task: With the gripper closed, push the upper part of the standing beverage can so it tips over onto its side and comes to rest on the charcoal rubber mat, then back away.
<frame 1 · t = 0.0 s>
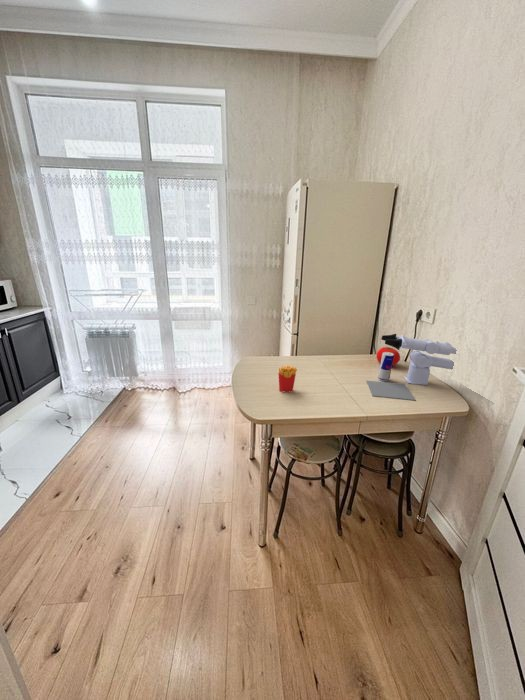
hand: (383, 339, 147), 22 cm above the table, tool horizontal, fingers open, 7 cm apart
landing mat: (389, 390, 140), on the table
french fries: (286, 390, 136), on the table
tomato: (386, 364, 173), on the table
beverage can: (383, 380, 151), on the table
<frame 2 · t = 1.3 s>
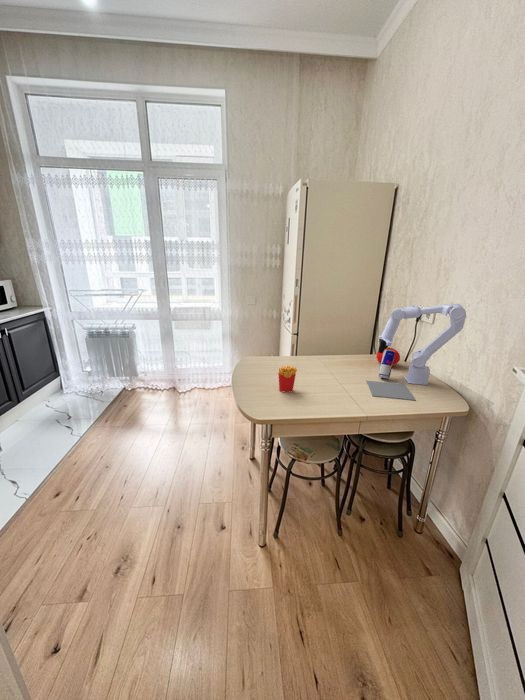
hand: (380, 352, 155), 12 cm above the table, tool pointing down, fingers closed, pressing on beverage can
beverage can: (383, 378, 151), point 1 cm above the table, touching gripper
everything else where it was.
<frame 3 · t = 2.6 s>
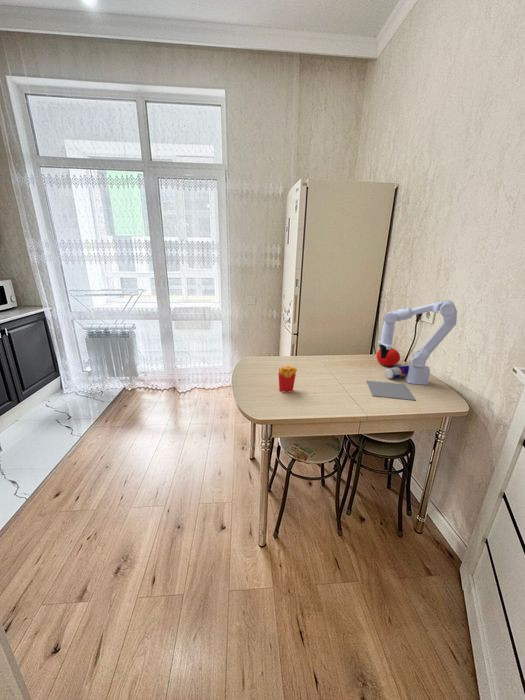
hand: (382, 357, 156), 10 cm above the table, tool pointing down, fingers closed
beverage can: (387, 373, 152), point 3 cm above the table
everything else where it was.
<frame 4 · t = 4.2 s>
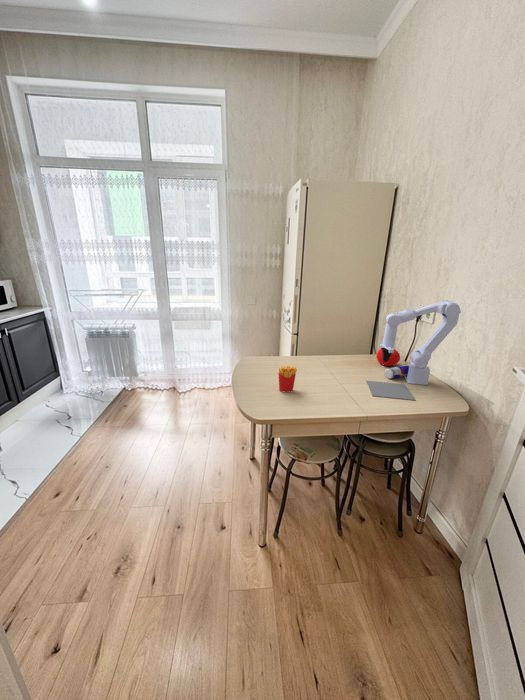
hand: (385, 361, 151), 9 cm above the table, tool pointing down, fingers closed
nothing on the table moved.
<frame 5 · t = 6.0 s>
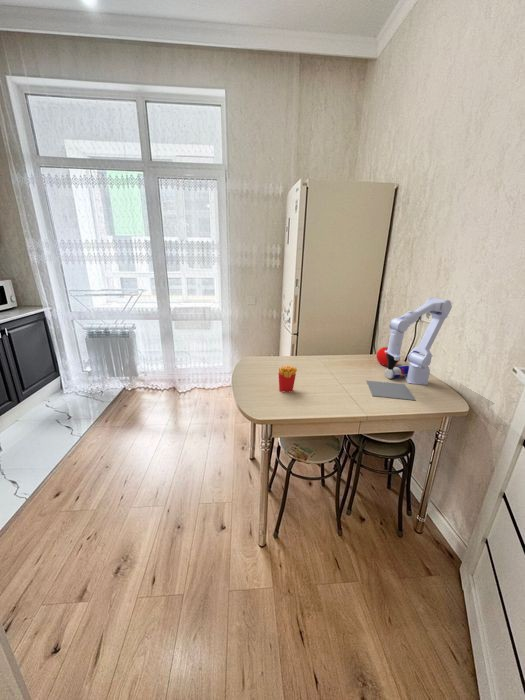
hand: (390, 369, 141), 9 cm above the table, tool pointing down, fingers closed
nothing on the table moved.
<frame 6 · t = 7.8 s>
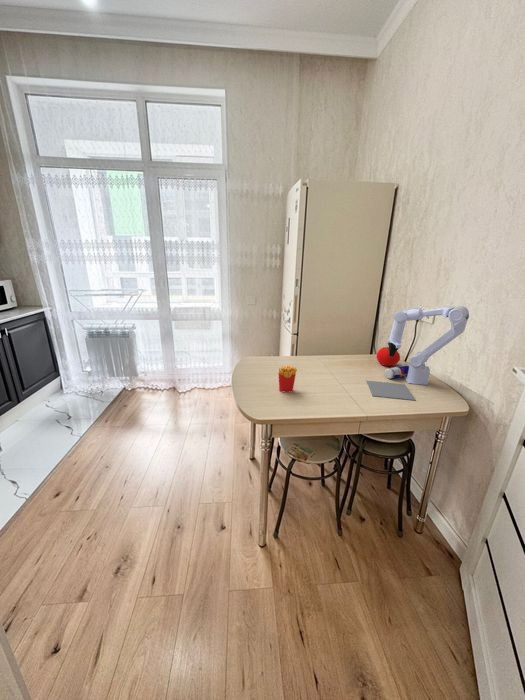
hand: (391, 356, 156), 10 cm above the table, tool pointing down, fingers closed
nothing on the table moved.
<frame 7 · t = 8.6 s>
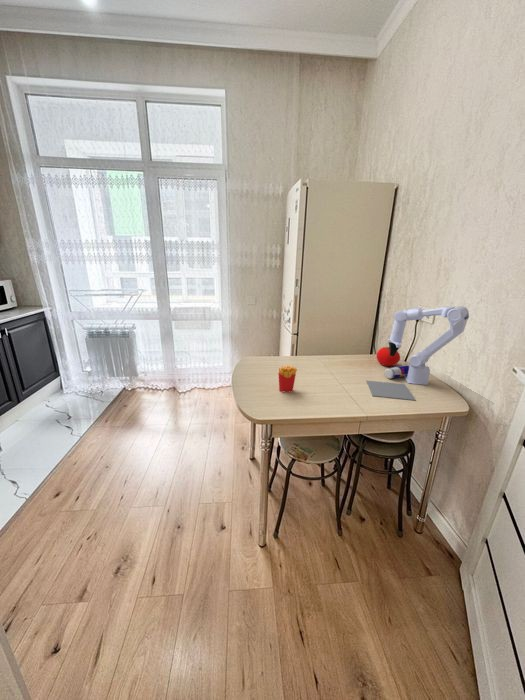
hand: (391, 355, 157), 10 cm above the table, tool pointing down, fingers closed
nothing on the table moved.
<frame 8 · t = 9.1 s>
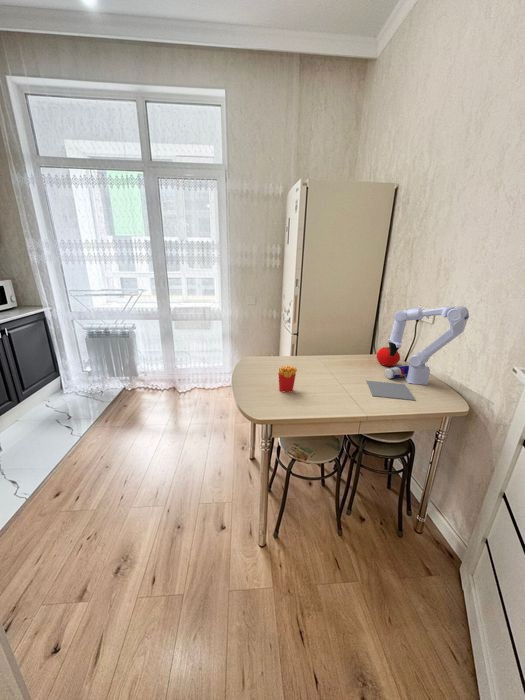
hand: (391, 355, 157), 10 cm above the table, tool pointing down, fingers closed
nothing on the table moved.
at the end: beverage can tilted 90°; beverage can inside the target area (11.3 cm from its centre), point 2.8 cm above the table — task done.
